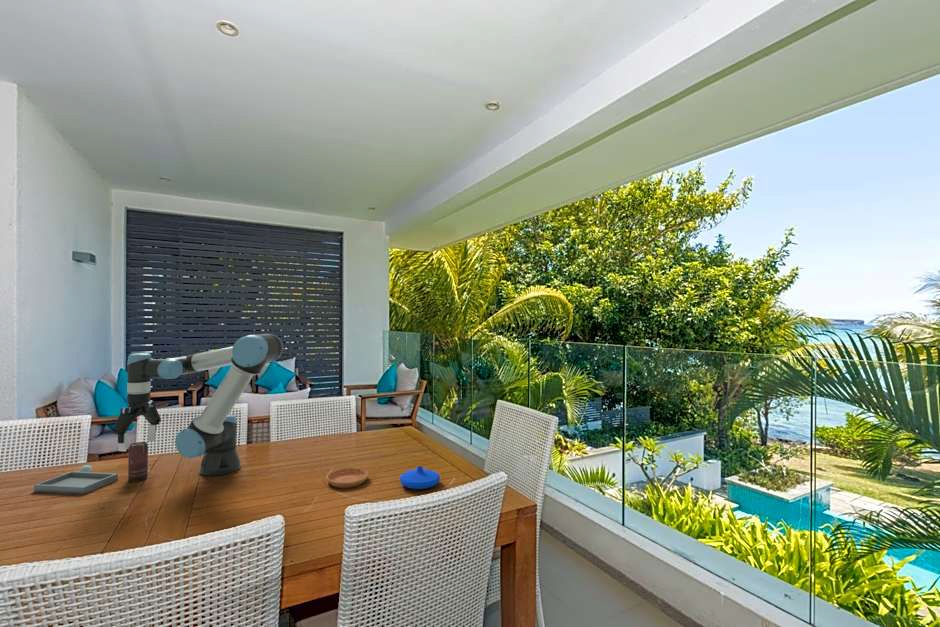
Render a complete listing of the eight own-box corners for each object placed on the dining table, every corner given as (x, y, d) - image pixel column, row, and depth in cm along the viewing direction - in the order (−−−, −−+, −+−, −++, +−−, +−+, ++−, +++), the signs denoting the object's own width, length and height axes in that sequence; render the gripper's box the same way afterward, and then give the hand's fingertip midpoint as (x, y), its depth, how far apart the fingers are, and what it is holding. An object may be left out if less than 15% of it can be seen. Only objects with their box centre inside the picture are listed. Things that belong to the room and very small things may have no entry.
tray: (117, 480, 175) (117, 473, 175) (83, 494, 161) (83, 487, 161) (71, 477, 177) (71, 471, 177) (34, 491, 163) (34, 484, 163)
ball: (94, 472, 182) (94, 464, 182) (85, 476, 179) (85, 467, 179) (86, 472, 183) (86, 463, 183) (77, 475, 179) (77, 466, 179)
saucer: (375, 477, 181) (375, 470, 181) (353, 492, 166) (353, 484, 166) (342, 472, 186) (342, 465, 186) (317, 486, 171) (317, 479, 171)
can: (137, 482, 173) (138, 446, 173) (124, 481, 174) (124, 445, 174) (151, 476, 179) (152, 442, 179) (138, 475, 180) (139, 441, 180)
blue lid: (407, 496, 162) (407, 477, 162) (394, 481, 176) (394, 464, 176) (446, 488, 170) (446, 470, 170) (430, 475, 184) (431, 458, 184)
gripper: (155, 386, 189) (154, 436, 189) (101, 397, 164) (99, 455, 164) (171, 387, 188) (170, 437, 188) (119, 398, 163) (118, 456, 163)
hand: (137, 445), depth 176 cm, fingers open, 13 cm apart
